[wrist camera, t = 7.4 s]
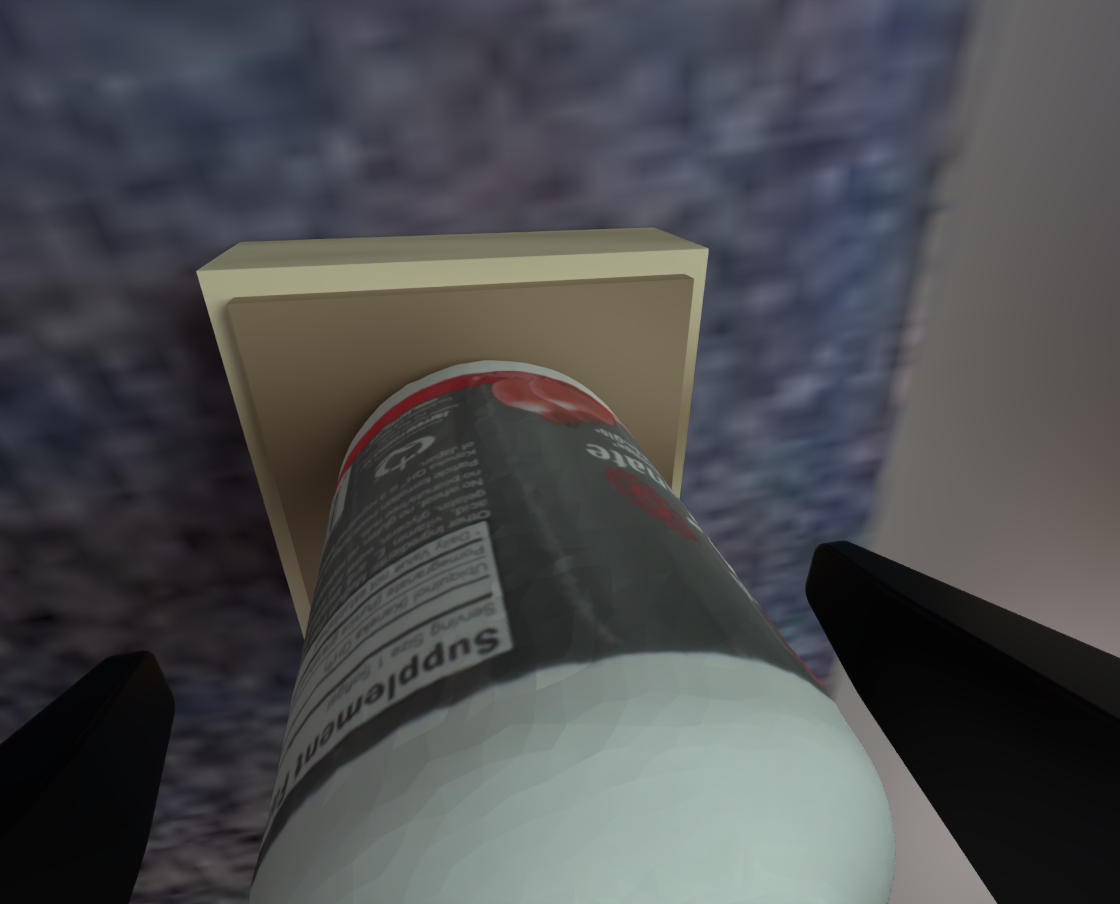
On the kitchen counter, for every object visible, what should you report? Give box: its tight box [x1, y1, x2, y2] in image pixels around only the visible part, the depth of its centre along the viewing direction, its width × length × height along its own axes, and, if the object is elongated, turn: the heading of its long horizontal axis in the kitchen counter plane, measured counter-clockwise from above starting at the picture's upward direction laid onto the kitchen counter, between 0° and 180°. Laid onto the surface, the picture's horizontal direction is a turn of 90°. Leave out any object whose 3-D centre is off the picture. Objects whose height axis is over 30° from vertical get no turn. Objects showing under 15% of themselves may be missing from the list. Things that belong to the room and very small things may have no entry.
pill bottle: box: [249, 360, 896, 904], centre depth 7 cm, size 5×5×10 cm
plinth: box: [196, 227, 709, 639], centre depth 12 cm, size 8×8×3 cm
